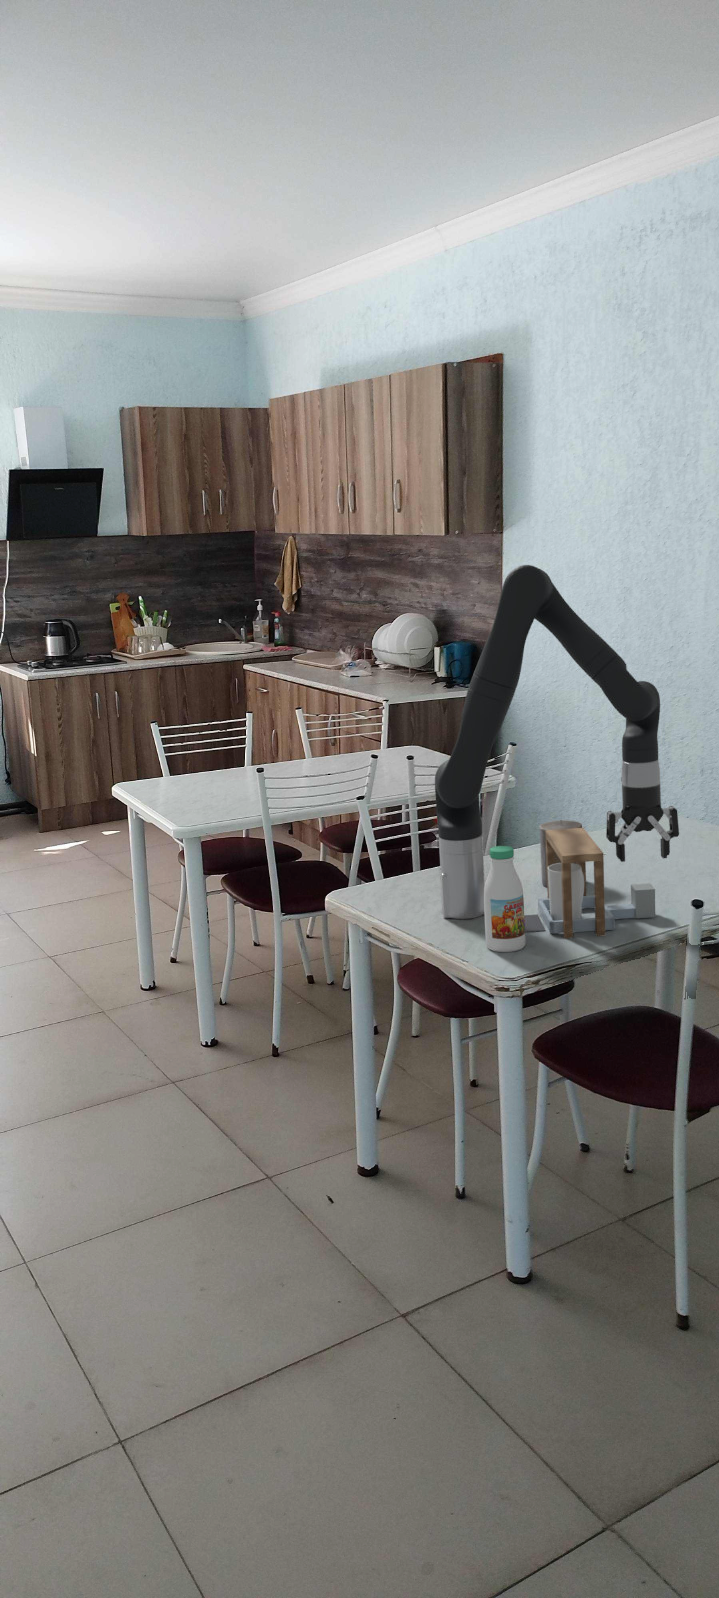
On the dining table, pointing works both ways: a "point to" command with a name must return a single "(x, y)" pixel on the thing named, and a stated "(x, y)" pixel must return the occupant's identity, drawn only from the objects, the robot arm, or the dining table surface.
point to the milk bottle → (503, 903)
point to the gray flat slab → (533, 923)
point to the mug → (556, 891)
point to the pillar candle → (546, 826)
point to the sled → (606, 910)
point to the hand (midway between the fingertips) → (643, 859)
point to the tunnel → (581, 850)
